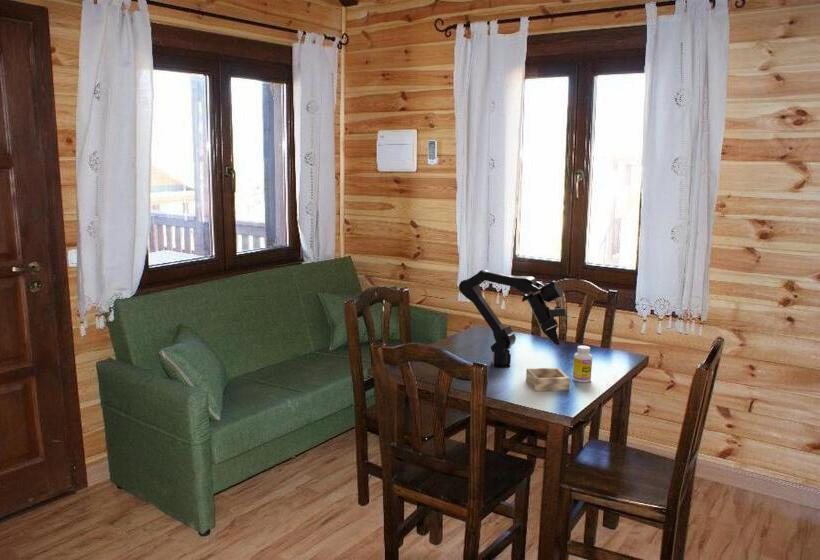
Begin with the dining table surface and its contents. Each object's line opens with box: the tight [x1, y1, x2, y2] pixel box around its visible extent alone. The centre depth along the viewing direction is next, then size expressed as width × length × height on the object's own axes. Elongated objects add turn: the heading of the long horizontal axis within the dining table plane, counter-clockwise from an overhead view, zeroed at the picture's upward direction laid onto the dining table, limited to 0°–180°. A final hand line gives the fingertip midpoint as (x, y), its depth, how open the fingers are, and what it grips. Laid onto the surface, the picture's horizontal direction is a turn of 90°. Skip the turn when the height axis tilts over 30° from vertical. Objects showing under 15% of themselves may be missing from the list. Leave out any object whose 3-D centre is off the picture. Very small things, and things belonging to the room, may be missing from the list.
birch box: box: [525, 367, 571, 392], centre depth 256 cm, size 12×12×5 cm
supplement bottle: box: [572, 345, 593, 383], centre depth 262 cm, size 7×7×13 cm
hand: (557, 344), depth 268 cm, fingers open, 9 cm apart
